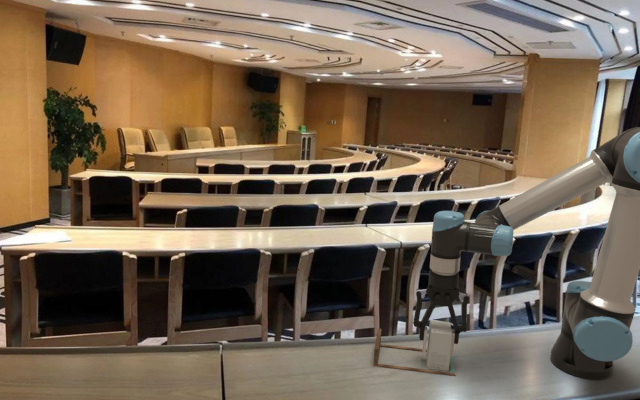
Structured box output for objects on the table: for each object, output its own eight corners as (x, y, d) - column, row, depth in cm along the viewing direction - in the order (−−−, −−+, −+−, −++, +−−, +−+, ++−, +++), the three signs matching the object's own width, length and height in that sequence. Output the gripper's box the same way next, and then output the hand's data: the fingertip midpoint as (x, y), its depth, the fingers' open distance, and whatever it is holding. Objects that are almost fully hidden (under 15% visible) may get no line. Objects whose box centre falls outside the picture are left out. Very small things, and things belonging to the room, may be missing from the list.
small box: (448, 372, 131) (453, 334, 129) (426, 369, 132) (430, 332, 130) (447, 357, 139) (450, 321, 137) (426, 354, 140) (430, 319, 138)
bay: (452, 353, 141) (453, 336, 140) (455, 376, 129) (457, 358, 128) (376, 344, 144) (377, 328, 143) (373, 366, 133) (374, 348, 132)
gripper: (481, 269, 132) (473, 349, 137) (406, 262, 136) (401, 341, 140) (484, 279, 125) (476, 363, 130) (406, 272, 128) (400, 355, 133)
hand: (437, 352), depth 135 cm, fingers open, 6 cm apart
